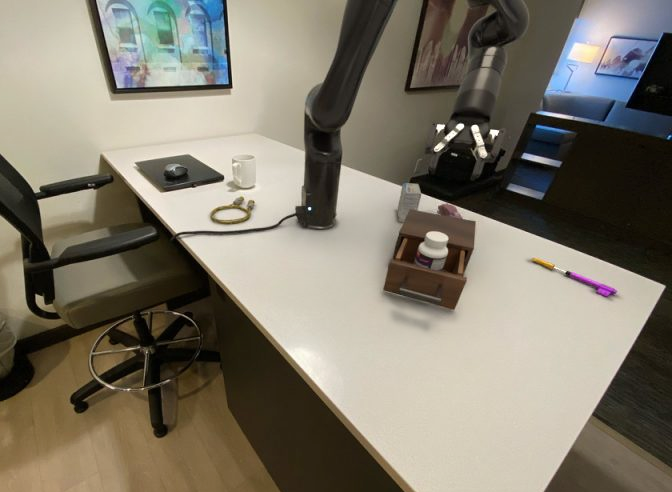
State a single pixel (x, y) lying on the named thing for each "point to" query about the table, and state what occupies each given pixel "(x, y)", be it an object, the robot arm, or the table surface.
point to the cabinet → (454, 228)
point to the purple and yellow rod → (582, 279)
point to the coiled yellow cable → (237, 201)
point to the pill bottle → (432, 251)
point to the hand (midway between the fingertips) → (452, 175)
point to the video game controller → (449, 211)
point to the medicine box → (408, 200)
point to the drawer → (426, 276)
